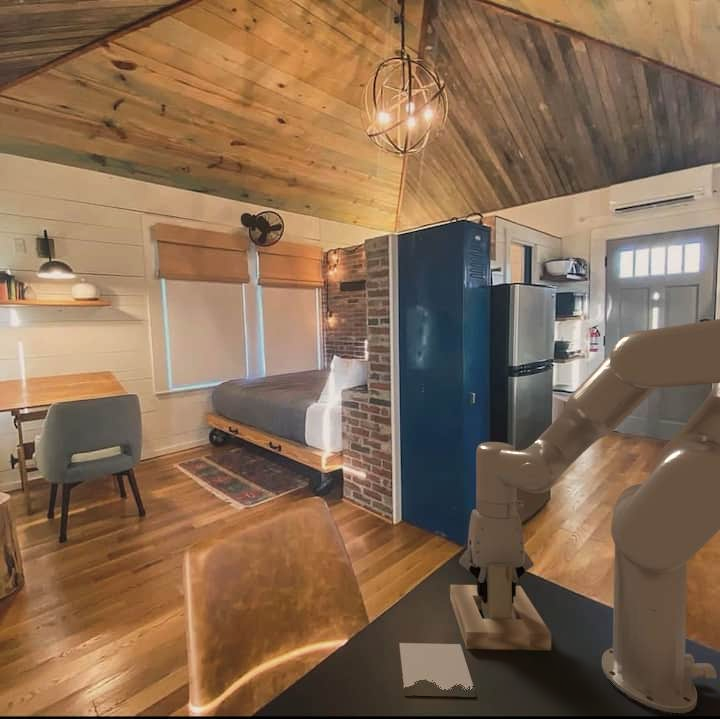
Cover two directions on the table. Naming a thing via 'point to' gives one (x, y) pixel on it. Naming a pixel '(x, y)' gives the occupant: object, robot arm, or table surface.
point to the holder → (499, 623)
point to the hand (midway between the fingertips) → (496, 598)
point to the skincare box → (498, 592)
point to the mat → (434, 665)
